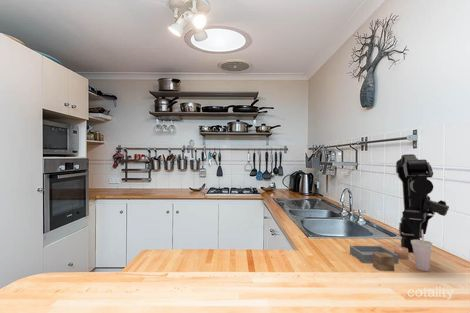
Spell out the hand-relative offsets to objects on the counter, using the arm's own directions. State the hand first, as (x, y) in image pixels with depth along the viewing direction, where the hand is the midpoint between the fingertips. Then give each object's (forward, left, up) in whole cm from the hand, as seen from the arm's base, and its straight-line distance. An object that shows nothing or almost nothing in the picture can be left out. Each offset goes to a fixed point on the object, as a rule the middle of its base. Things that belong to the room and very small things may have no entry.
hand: (420, 235), depth 92 cm
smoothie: (0, 0, -12) cm, 12 cm away
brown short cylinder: (0, -13, -12) cm, 17 cm away
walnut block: (+14, 0, -12) cm, 18 cm away
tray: (+12, -12, -12) cm, 21 cm away
